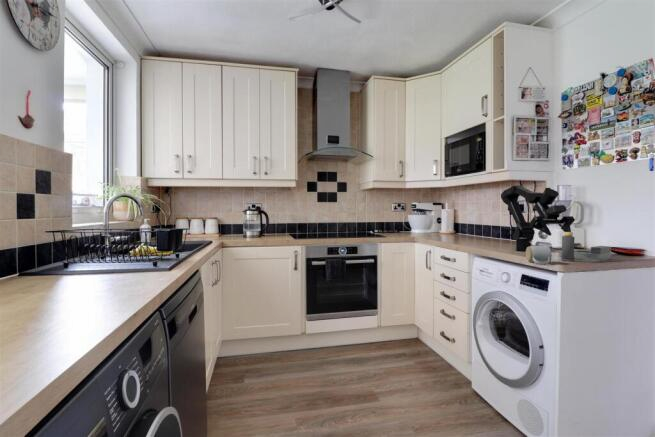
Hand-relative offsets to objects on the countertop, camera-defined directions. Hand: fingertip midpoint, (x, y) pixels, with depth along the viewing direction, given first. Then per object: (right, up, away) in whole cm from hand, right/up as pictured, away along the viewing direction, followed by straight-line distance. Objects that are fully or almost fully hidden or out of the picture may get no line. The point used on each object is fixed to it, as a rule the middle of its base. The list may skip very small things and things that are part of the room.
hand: (560, 235), depth 145 cm
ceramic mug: (-16, -12, -9) cm, 22 cm away
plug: (0, -11, -4) cm, 12 cm away
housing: (+14, -11, +4) cm, 19 cm away
